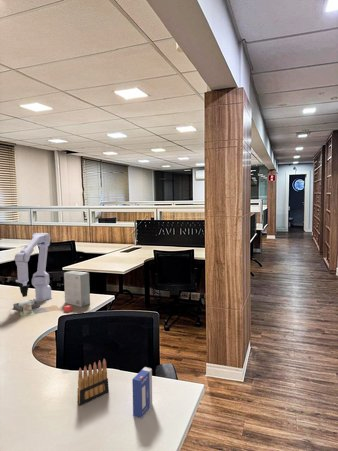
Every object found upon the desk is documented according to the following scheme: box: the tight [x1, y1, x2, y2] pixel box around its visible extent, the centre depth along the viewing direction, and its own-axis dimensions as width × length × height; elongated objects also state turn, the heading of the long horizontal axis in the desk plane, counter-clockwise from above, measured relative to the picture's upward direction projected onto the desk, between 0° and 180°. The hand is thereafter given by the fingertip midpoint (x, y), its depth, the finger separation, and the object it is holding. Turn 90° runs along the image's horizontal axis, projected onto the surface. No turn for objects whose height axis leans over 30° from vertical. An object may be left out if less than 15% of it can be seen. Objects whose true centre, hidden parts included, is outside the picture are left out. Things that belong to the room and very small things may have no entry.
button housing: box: [12, 299, 41, 312], centre depth 198 cm, size 11×11×2 cm
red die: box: [63, 304, 73, 313], centre depth 190 cm, size 3×3×3 cm
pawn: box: [23, 303, 32, 314], centre depth 188 cm, size 4×4×5 cm
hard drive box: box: [63, 270, 91, 308], centre depth 204 cm, size 16×8×20 cm, turn 58°
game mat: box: [19, 304, 60, 317], centre depth 192 cm, size 21×9×1 cm, turn 120°
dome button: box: [17, 299, 35, 307], centre depth 198 cm, size 9×9×2 cm
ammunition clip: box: [76, 358, 110, 407], centre depth 107 cm, size 11×2×12 cm, turn 132°
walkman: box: [131, 366, 153, 419], centre depth 100 cm, size 8×3×12 cm, turn 155°
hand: (23, 294), depth 193 cm, fingers open, 7 cm apart
